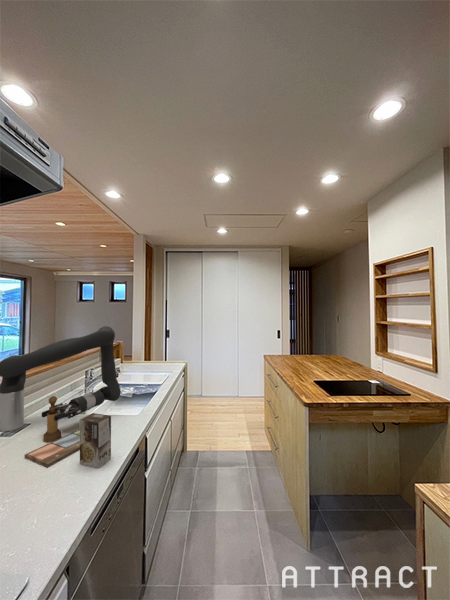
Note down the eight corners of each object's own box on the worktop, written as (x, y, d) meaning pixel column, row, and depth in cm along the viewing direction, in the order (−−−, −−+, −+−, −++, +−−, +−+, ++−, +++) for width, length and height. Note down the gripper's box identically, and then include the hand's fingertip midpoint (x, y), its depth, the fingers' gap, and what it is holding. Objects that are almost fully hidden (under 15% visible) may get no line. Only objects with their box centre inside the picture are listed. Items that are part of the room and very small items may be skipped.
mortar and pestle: (52, 443, 110) (52, 399, 111) (39, 441, 112) (39, 398, 112) (64, 435, 117) (65, 394, 117) (52, 434, 118) (52, 393, 118)
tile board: (24, 457, 100) (24, 453, 100) (88, 427, 124) (88, 424, 124) (47, 467, 94) (47, 462, 94) (109, 433, 118) (109, 430, 118)
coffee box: (111, 458, 99) (112, 415, 99) (98, 468, 93) (98, 422, 93) (92, 454, 102) (93, 412, 102) (78, 463, 96) (78, 419, 96)
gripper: (72, 393, 130) (38, 405, 116) (93, 398, 124) (59, 410, 110) (72, 409, 130) (37, 422, 116) (93, 414, 124) (58, 429, 110)
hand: (48, 416), depth 113 cm, fingers open, 8 cm apart
